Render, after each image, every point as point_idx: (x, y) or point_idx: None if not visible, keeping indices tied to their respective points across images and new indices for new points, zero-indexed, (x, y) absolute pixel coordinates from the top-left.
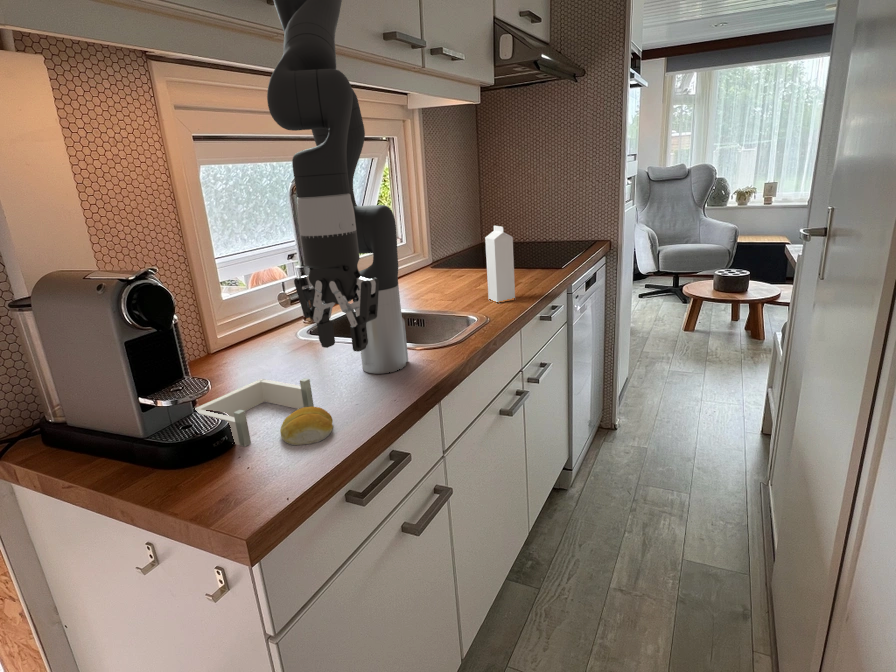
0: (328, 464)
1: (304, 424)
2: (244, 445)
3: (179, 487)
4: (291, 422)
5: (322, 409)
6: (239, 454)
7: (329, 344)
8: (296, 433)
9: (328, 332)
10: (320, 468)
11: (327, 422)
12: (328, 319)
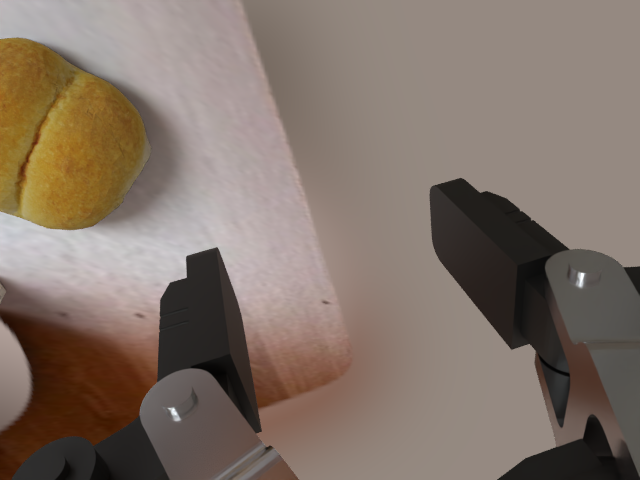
0: (281, 194)
1: (112, 197)
2: (4, 293)
3: (112, 416)
4: (66, 219)
5: (13, 82)
6: (45, 311)
7: (230, 288)
8: (110, 212)
9: (237, 336)
10: (281, 215)
11: (120, 116)
12: (230, 389)
